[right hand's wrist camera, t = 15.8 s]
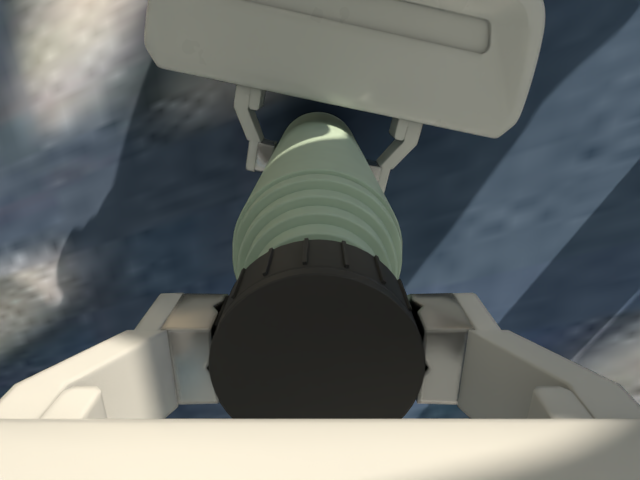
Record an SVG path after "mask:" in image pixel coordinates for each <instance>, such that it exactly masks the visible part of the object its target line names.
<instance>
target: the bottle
mask: <svg viewBox="0 0 640 480" xmlns="http://www.w3.org/2000/svg"><path fill="white" fill-rule="evenodd" d="M304 238H308V239H309V240H317V239H320V240H332V241H337V242H342V240H343V241H346V244H349V245H352V246H355V247H358V248H360V249H362V250H364V251H366V252H368V253H369V254H371V255H373V256H375V255H377V256H378V257H379V260H380V261H381V262H382V263H383V264H384V265H385V266H387V267H388V269H389V270H390V271H391V272H392V273H393V274H394V276H395V277H396V279H397V280H398V279H399V275H400V272H401V266H402V237H401V231H400V227H399V224H398V221H397V219H396V216H395V214H394V212H393V210H392V208H391V206H390V204H389V202H388V201H387V199H386V197H385V195H384V193H383V191H382V189H381V187H380V185H379V184H378V182H377V180H376V178H375V176H374V174H373V172H372V170H371V168H370V167H369V165H368V163H367V161H366V159H365V157H364V155H363V153H362V151H361V150H360V148H359V146H358V144H357V142H356V140H355V138H354V136H353V134H352V133H351V131H350V129H349V128H348V126H347V125H346V124H345V123H344V122H343V121H342V120H340V119H339V118H338V117H336V116H334V115H331V114H329V113H324V112H311V113H307V114H304V115H302V116H300V117H298V118H297V119H295V120H294V121H293V122H292V123H291V124H290V125H289V126H288V127H287V129H286V130H285V132H284V134H283V136H282V137H281V139H280V141H279V143H278V145H277V147H276V149H275V150H274V152H273V154H272V156H271V158H270V160H269V162H268V163H267V165H266V167H265V169H264V171H263V173H262V174H261V176H260V178H259V180H258V182H257V184H256V186H255V187H254V189H253V191H252V193H251V195H250V197H249V199H248V200H247V202H246V204H245V206H244V208H243V210H242V211H241V214H240V216H239V218H238V220H237V223H236V226H235V230H234V235H233V267H234V273H235V276H236V279H237V280H238V278H239V275H240V273H241V270H242V269H243V268H245V269H246V268H247V267H248V266H249V265H250V264H251V263H253V262H254V261H255V260H256V259H258V258H259V257H260V256H262V255H264V254H265V253H267V252H268V251H269V249H270V248H273V249H275V248H277V247H280V246H282V245H285V244H289V243H292V242H297V241H303V240H304Z"/></svg>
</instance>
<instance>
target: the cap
mask: <svg viewBox="0 0 640 480" xmlns="http://www.w3.org/2000/svg"><path fill="white" fill-rule="evenodd" d="M411 310H412V307H411V304H410V302H409V299H408V297H407V294H406V292H405V289H404V286H403V284H402V281H401V280H400V279H398V280H397V279H396V277H395V276H394V274H393V273H392V272H391V271H390V270H389V269H388V267H387V266H385V265H384V264H383V263H382V262H381V261H380V260H379V257H378V256H377V255H375V256H373V255H371V254H369V253H368V252H366V251H364V250H362V249H360V248H358V247H355V246H352V245H349V244H346V241H343V240H342V242H337V241H332V240H320V239H317V240H309V239H308V238H304V240H303V241H297V242H292V243H289V244H285V245H282V246H280V247H277V248H275V249H273V248H270V249H269V251H268V252H267V253H265V254H264V255H262V256H260V257H259V258H258V259H256V260H255V261H254V262H253V263H251V264H250V265H249V266H248V267H247V268H246V269H245V268H243V269H242V270H241V273H240V275H239V278H238V280H237V281H236V283H235V285H234V287H233V289H232V291H231V293H230V295H229V296H228V295H227V296H226V299H225V301H224V304H223V305H222V308H221V310H220V312H219V316H218V318H217V320H216V323H215V329H216V330H215V333H214V336H213V339H212V342H211V345H210V351H209V373H210V379H211V383H212V386H213V388H214V391H215V394H216V396H217V398H218V400H219V401H220V403H221V405H222V406H223V407H224V409H225V410H226V412H227V413H228V414H229V415H230V416H231V417H232V418H233V419H402V418H403V417H404V416H405V415H406V413H407V412H408V411H409V409H410V408H411V407H412V405H413V403H414V402H415V400H416V398H417V396H418V394H419V392H420V389H421V386H422V384H423V379H424V374H425V362H426V359H425V350H424V345H423V342H422V338H421V335H420V333H419V330H418V327H417V325H416V320H415V319H414V317H413V314H412V312H411Z"/></svg>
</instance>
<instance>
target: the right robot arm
mask: <svg viewBox="0 0 640 480" xmlns="http://www.w3.org/2000/svg"><path fill="white" fill-rule="evenodd" d="M227 295H228V294H198V293H185V294H184V293H163V294H160V295H159V296H158V297H157V299H156V300H155V302H154V303H153V304H152V306H151V307H150V308H149V310H148V311H147V313H146V314H145V315H144V317H143V318H142V320H141V321H140V322H139V324H138V325H137V326H136V328H135V329H134V330H126V331H124V332H122V333H120V334H118V335H116V336H114V337H112V338H110V339H107V340H105V341H103V342H101V343H99V344H97V345H95V346H93V347H91V348H89V349H87V350H85V351H83V352H81V353H78V354H76V355H74V356H72V357H70V358H68V359H66V360H64V361H62V362H60V363H58V364H56V365H54V366H52V367H49V368H47V369H45V370H43V371H41V372H39V373H37V374H35V375H33V376H31V377H29V378H27V379H25V380H22V381H20V382H18V383H16V384H14V385H13V387H12V388H11V389H10V390H9V391H8V392H7V393H6V394H5V395H4V396H3V397H2V398H1V399H0V480H640V405H639V404H638V403H637V402H636V401H635V400H634V399H633V398H632V397H631V396H630V395H629V394H628V392H627V391H626V390H625V389H624V388H623V387H622V386H621V385H619V384H617V383H615V382H613V381H611V380H609V379H607V378H605V377H603V376H601V375H599V374H597V373H595V372H593V371H591V370H589V369H587V368H585V367H583V366H581V365H579V364H577V363H575V362H572V361H570V360H568V359H566V358H564V357H562V356H560V355H558V354H556V353H554V352H552V351H550V350H548V349H546V348H544V347H542V346H540V345H538V344H536V343H534V342H532V341H530V340H528V339H525V338H523V337H521V336H519V335H517V334H515V333H513V332H511V331H509V330H501V329H500V327H499V326H498V325H497V323H496V322H495V320H494V319H493V318H492V316H491V315H490V313H489V312H488V311H487V309H486V308H485V306H484V305H483V304H482V302H481V301H480V299H479V298H478V297H477V295H476V294H474V293H454V294H453V293H436V294H409V295H407V297H408V299H409V302H410V304H411V307H412V310H411V312H412V314H413V317H414V319H415V320H416V325H417V327H418V330H419V333H420V335H421V338H422V342H423V345H424V350H425V359H426V362H425V374H424V379H423V384H422V386H421V389H420V392H419V394H418V396H417V398H416V401H417V403H421V404H458V405H457V406H458V407H459V408H460V409H461V410H462V411H463V412H464V413H465V414H466V415H467V416H469V417H470V418H471V419H165V418H166V417H167V416H168V415H169V414H170V413H172V412H173V411H174V410H175V409H176V408H177V407H178V404H214V403H219V400H218V398H217V396H216V394H215V391H214V388H213V386H212V383H211V379H210V373H209V351H210V345H211V342H212V339H213V336H214V333H215V330H216V329H215V323H216V320H217V318H218V316H219V312H220V310H221V308H222V305H223V304H224V301H225V299H226V296H227Z"/></svg>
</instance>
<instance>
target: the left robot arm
mask: <svg viewBox="0 0 640 480" xmlns="http://www.w3.org/2000/svg"><path fill="white" fill-rule="evenodd" d="M544 28H545V7H544V2H543V0H148V6H147V14H146V23H145V34H144V43H145V46H146V49H147V50H148V52H149V54H150V55H151V57H152V59H153V60H154V62H155V63H156V65H157V66H158V67H159V68H162V69H166V70H171V71H176V72H180V73H185V74H190V75H195V76H199V77H204V78H209V79H214V80H218V81H223V82H228V83H233V84H236V90H235V98H234V109H235V111H236V114H237V116H238V119H239V121H240V124H241V126H242V128H243V131H244V133H245V136H246V138H247V140H249V147H248V154H247V162H246V170H249V171H253V172H254V171H255V172H260V173H263V171H264V169H265V167H266V165H267V163H268V162H269V160H270V158H271V156H272V154H273V152H274V150H275V149H276V146H277V141H273V140H269V139H264V136H263V133H262V130H261V127H260V124H259V122H258V119H257V116H256V113H255V110H258V109H260V108H261V107H263V105H264V98H265V92H266V91H271V92H275V93H280V94H285V95H290V96H294V97H299V98H304V99H309V100H313V101H318V102H323V103H328V104H332V105H337V106H342V107H346V108H351V109H356V110H361V111H365V112H370V113H375V114H380V115H384V116H389V117H392V121H391V125H390V129H389V133H390V135H391V136H393V137H394V138H395V140H394V141H393V142H392V143H391V144H390V145H389V147H388V148H387V149H386V150H385V151H384V152H383V153H382V154H381V155H380V157H379V158H378V159H377V160H376V161H372V160H367V159H366V161H367V163H368V165H369V167H370V168H371V170H372V172H373V174H374V176H375V178H376V180H377V182H378V184H379V185H380V187H381V189H382V191H383V193H384V192H385V188H386V184H387V180H388V176H389V173H390V169H393V168H394V167H395V166H396V165H397V164H398V163H399V162H400V161H401V160H402V159H403V158H404V157H405V156H406V155H407V154H408V153H409V152H410V151H411V150H412V149H413V148H414V147H415V146H416V145H417V143H418V140H419V136H420V133H421V129H422V126H423V124H427V125H432V126H437V127H441V128H446V129H451V130H456V131H460V132H465V133H470V134H475V135H479V136H484V137H489V138H498V137H500V136H501V135H503V134H504V133H505V132H507V131H508V130H509V129H510V128H511V127H513V126H514V125H515V124H516V123H517V121H518V119H519V117H520V115H521V112H522V110H523V107H524V104H525V101H526V99H527V95H528V92H529V89H530V86H531V83H532V79H533V76H534V72H535V68H536V64H537V61H538V57H539V52H540V48H541V44H542V39H543V34H544Z"/></svg>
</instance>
